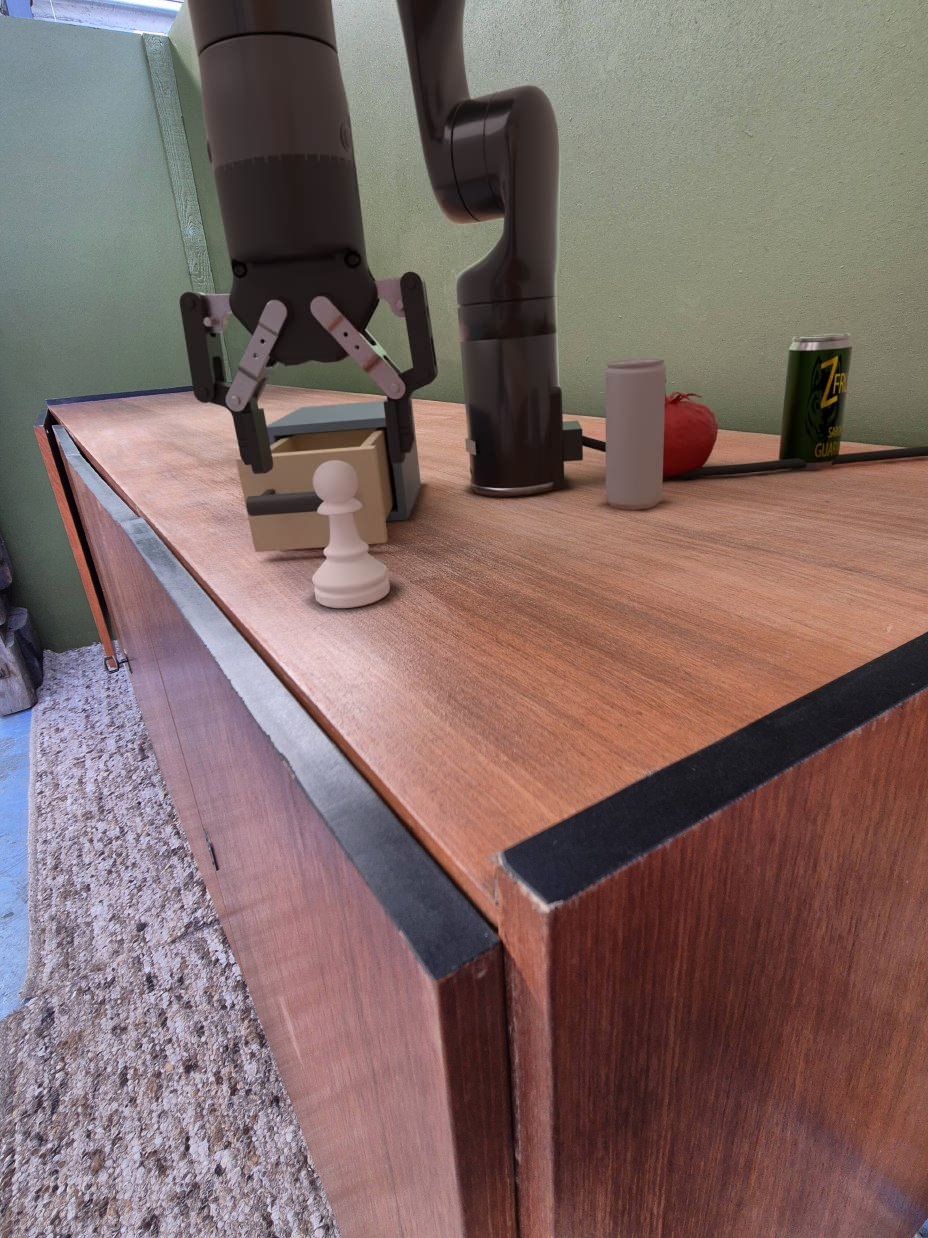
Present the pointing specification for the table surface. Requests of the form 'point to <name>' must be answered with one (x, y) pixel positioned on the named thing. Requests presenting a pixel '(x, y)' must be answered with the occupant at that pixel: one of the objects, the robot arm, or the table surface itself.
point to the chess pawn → (345, 544)
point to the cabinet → (349, 419)
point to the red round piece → (686, 434)
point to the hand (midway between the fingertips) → (330, 466)
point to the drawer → (289, 498)
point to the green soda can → (815, 399)
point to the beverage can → (635, 432)
